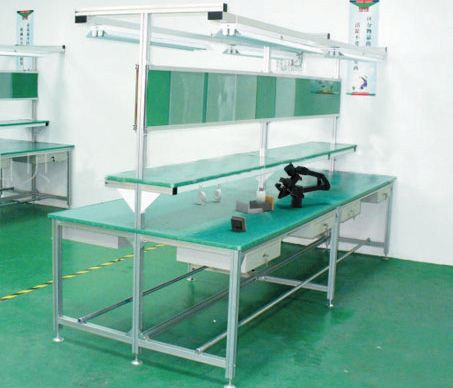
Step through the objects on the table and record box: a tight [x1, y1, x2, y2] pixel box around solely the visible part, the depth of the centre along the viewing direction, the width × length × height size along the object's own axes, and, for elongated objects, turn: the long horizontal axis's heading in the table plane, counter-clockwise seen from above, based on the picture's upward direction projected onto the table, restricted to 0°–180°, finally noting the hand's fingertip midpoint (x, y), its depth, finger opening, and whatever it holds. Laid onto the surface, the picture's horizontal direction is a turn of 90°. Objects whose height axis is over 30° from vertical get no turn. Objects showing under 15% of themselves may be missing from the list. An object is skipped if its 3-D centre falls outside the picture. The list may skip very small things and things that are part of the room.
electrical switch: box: [230, 214, 247, 232], centre depth 361 cm, size 8×5×8 cm, turn 60°
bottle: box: [255, 187, 267, 203], centre depth 421 cm, size 6×6×13 cm
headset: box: [197, 183, 223, 206], centre depth 435 cm, size 20×7×18 cm, turn 137°
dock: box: [235, 199, 265, 215], centre depth 417 cm, size 13×13×6 cm
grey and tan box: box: [248, 194, 275, 212], centre depth 422 cm, size 11×12×8 cm
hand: (278, 198), depth 430 cm, fingers closed
